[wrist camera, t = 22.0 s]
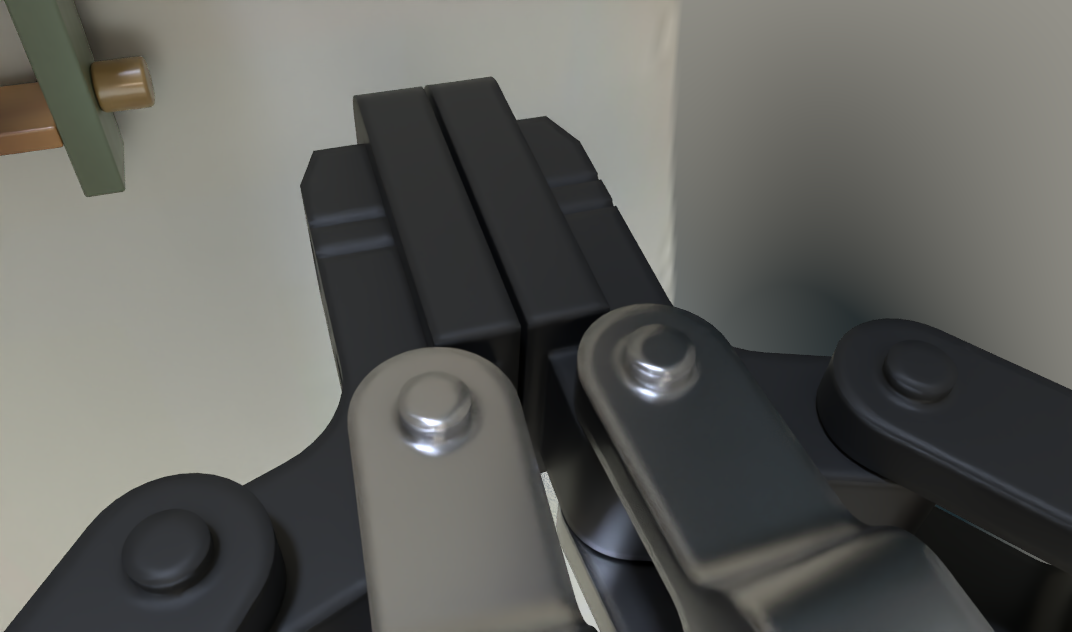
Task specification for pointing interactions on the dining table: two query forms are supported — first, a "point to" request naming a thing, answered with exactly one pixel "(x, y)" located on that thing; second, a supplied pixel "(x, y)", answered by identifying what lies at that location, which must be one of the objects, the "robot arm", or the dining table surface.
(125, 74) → the drawer
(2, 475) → the dining table surface
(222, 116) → the dining table surface
